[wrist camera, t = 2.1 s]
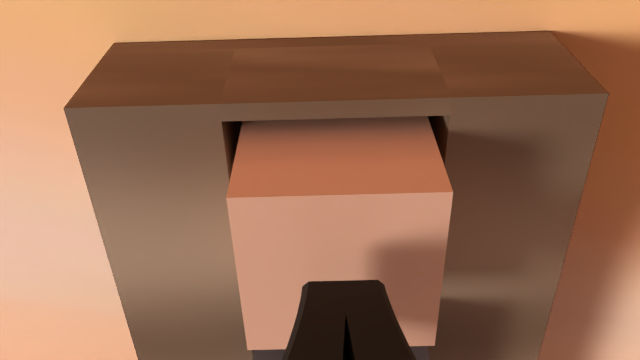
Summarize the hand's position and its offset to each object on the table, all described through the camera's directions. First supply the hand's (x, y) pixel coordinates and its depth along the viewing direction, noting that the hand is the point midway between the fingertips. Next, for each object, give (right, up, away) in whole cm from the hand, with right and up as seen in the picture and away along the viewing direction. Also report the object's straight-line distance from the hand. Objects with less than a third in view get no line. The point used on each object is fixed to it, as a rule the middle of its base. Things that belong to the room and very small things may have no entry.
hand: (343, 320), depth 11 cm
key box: (0, 0, +8) cm, 8 cm away
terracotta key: (0, +2, +4) cm, 4 cm away
